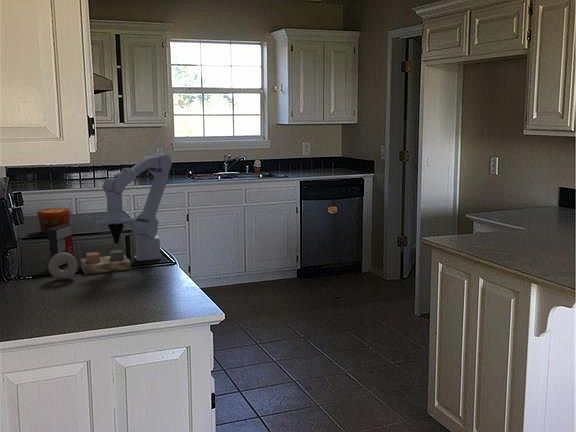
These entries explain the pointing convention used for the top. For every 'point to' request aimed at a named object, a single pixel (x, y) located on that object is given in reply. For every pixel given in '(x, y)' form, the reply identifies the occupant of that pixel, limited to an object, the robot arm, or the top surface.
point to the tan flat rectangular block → (105, 265)
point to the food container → (53, 218)
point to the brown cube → (93, 257)
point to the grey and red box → (60, 240)
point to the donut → (63, 258)
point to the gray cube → (116, 255)
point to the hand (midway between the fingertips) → (116, 243)
